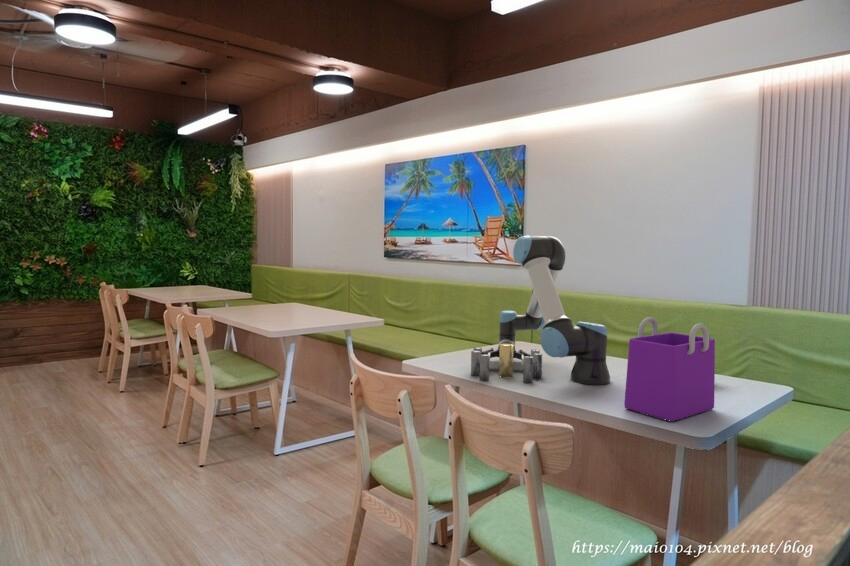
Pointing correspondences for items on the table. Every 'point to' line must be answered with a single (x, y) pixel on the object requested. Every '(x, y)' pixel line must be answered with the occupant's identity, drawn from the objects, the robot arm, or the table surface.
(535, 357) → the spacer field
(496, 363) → the mat
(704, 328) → the shopping bag
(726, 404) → the table surface
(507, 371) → the brass canister
